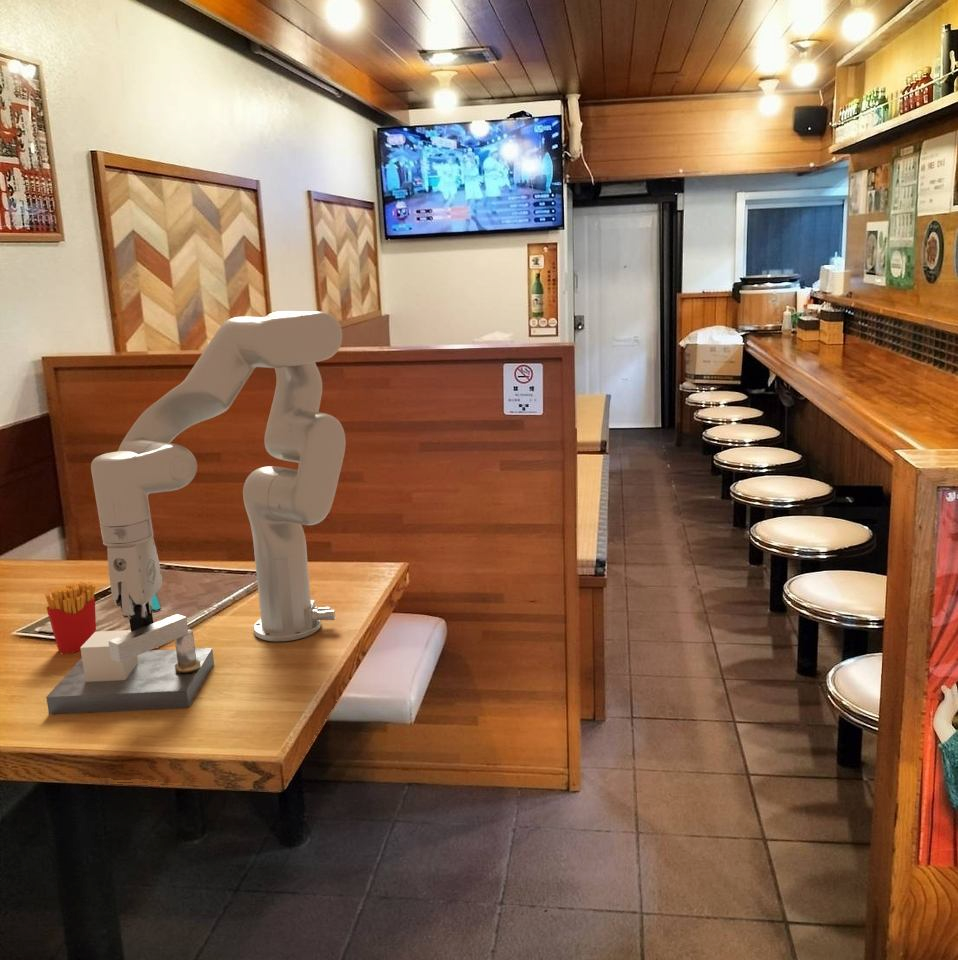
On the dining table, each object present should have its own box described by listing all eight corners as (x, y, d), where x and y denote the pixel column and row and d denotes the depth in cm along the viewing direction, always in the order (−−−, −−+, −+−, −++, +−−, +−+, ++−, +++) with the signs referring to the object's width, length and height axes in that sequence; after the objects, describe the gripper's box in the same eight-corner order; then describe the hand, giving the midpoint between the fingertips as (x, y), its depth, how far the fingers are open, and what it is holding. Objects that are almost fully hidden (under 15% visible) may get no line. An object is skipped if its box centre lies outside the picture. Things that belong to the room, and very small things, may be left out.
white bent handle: (190, 660, 155) (184, 609, 153) (205, 665, 153) (199, 613, 150) (113, 694, 144) (105, 639, 141) (128, 701, 141) (120, 645, 139)
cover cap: (138, 662, 155) (133, 629, 154) (125, 679, 149) (120, 645, 147) (100, 664, 155) (95, 631, 154) (85, 681, 149) (80, 647, 147)
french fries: (57, 657, 166) (47, 594, 163) (51, 650, 169) (41, 589, 166) (105, 643, 171) (96, 583, 168) (98, 637, 174) (90, 577, 171)
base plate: (214, 663, 161) (212, 647, 160) (188, 707, 145) (186, 690, 144) (88, 669, 160) (85, 653, 160) (49, 714, 145) (46, 697, 144)
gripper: (134, 545, 136) (151, 657, 141) (166, 515, 151) (180, 618, 156) (84, 547, 136) (103, 659, 141) (120, 517, 151) (136, 620, 156)
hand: (143, 637), depth 148 cm, fingers closed
